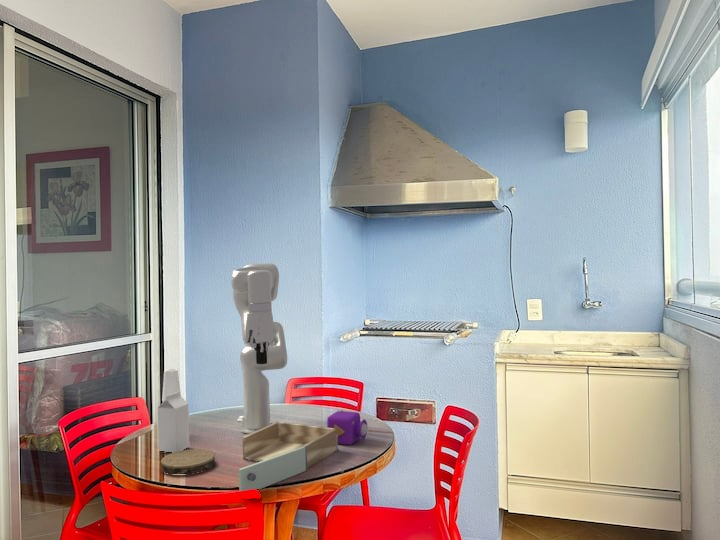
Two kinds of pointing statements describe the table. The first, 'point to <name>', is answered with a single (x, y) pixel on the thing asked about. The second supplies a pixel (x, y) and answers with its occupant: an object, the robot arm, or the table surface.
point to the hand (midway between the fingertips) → (261, 363)
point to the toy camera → (347, 426)
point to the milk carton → (173, 424)
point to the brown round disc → (188, 461)
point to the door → (273, 469)
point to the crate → (290, 442)
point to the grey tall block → (170, 383)
